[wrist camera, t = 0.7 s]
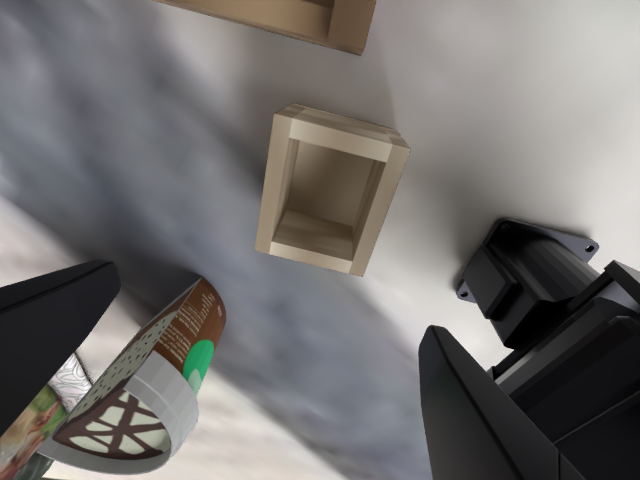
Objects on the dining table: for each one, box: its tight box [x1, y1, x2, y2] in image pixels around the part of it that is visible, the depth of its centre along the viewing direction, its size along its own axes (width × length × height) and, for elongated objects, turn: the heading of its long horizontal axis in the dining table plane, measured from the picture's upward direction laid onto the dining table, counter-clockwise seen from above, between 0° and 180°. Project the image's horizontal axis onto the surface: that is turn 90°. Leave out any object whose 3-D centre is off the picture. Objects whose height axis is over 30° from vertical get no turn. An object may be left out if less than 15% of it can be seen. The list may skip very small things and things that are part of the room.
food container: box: [37, 277, 226, 475], centre depth 22 cm, size 12×6×10 cm, turn 132°
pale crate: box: [255, 103, 411, 277], centre depth 17 cm, size 6×7×5 cm
